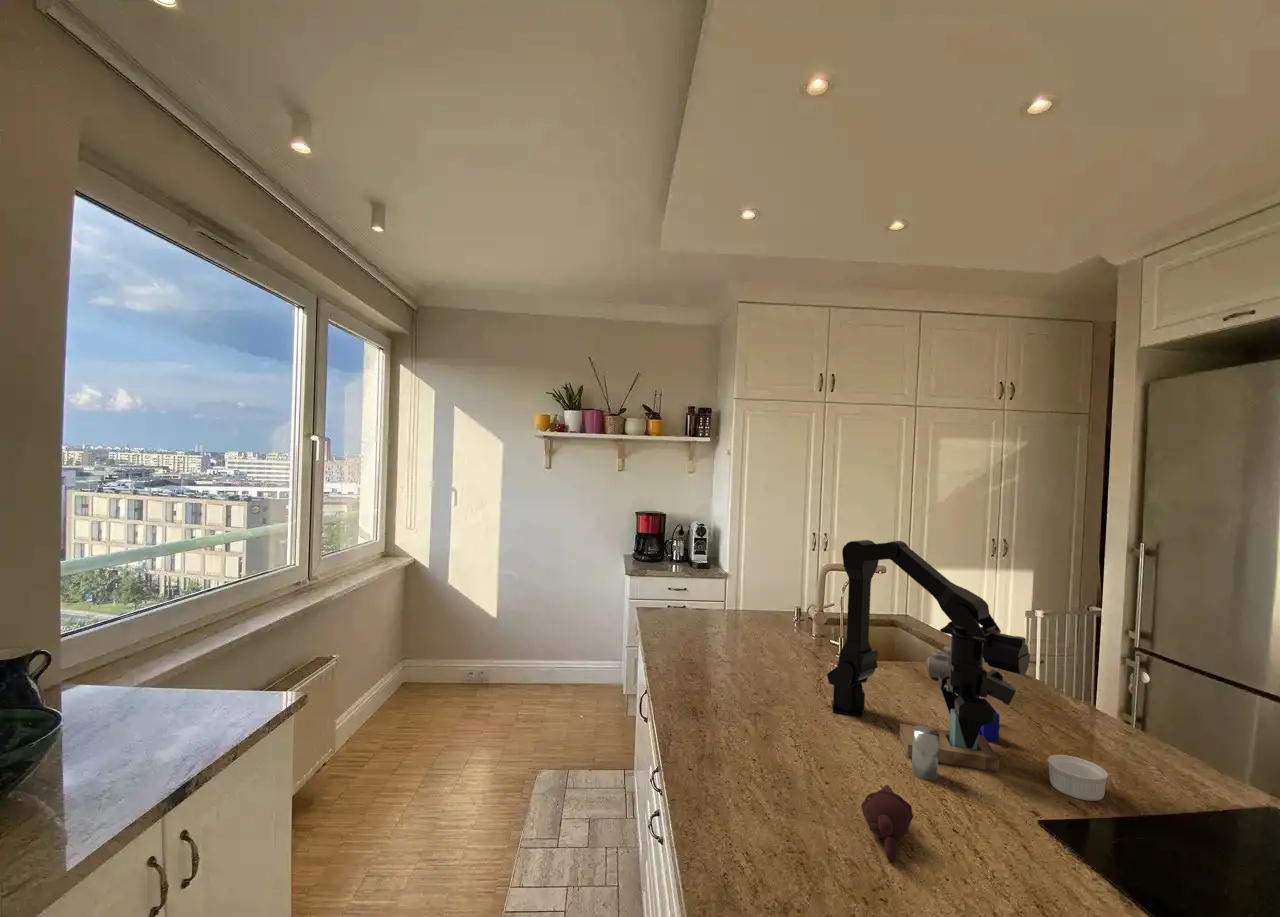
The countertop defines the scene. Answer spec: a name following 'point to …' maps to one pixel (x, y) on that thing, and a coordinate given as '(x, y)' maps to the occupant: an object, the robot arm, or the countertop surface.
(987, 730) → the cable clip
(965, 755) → the socket board
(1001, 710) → the countertop surface
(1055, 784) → the ramekin
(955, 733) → the square peg
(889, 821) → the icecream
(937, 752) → the round peg
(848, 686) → the robot arm
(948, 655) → the pipe fitting
